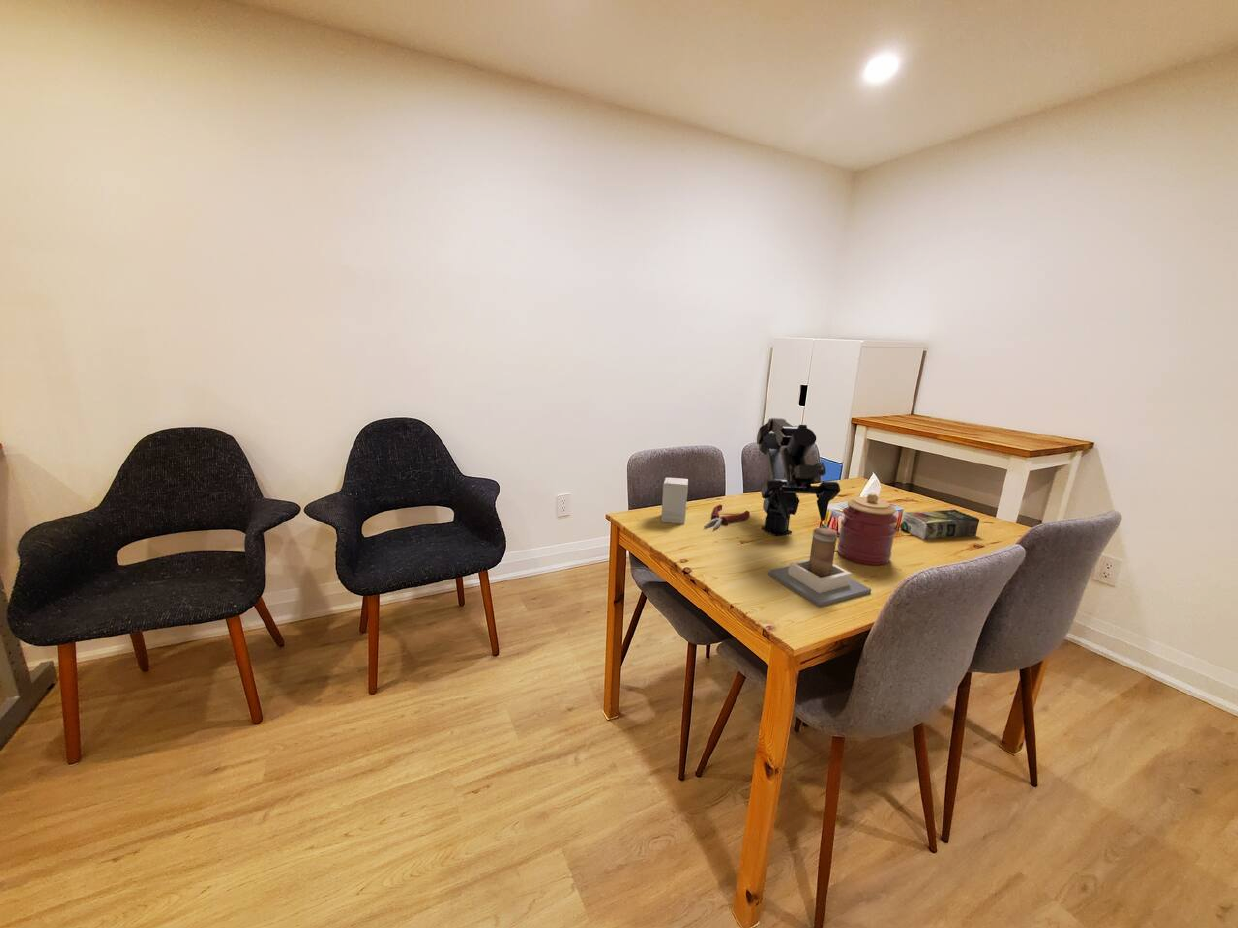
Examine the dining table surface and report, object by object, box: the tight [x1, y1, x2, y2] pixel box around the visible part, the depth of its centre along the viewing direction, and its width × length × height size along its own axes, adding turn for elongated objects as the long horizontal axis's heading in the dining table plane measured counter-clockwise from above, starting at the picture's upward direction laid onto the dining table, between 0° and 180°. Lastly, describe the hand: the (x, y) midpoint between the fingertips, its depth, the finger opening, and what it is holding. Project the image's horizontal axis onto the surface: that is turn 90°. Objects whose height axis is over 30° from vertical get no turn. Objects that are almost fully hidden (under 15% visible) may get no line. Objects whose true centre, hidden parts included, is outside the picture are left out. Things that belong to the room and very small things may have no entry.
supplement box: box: [660, 477, 689, 525], centre depth 152 cm, size 7×7×13 cm
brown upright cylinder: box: [808, 527, 838, 578], centre depth 113 cm, size 5×5×12 cm
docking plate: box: [767, 558, 872, 608], centre depth 114 cm, size 16×16×4 cm
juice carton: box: [899, 509, 980, 540], centre depth 148 cm, size 20×10×6 cm, turn 102°
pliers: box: [703, 504, 751, 530], centre depth 153 cm, size 12×20×3 cm, turn 145°
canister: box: [837, 492, 899, 566], centre depth 129 cm, size 13×13×18 cm
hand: (805, 520), depth 122 cm, fingers open, 9 cm apart
